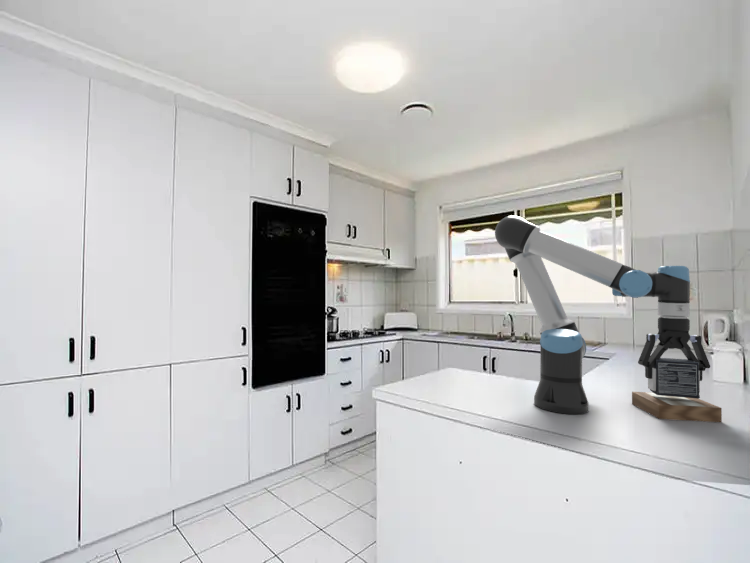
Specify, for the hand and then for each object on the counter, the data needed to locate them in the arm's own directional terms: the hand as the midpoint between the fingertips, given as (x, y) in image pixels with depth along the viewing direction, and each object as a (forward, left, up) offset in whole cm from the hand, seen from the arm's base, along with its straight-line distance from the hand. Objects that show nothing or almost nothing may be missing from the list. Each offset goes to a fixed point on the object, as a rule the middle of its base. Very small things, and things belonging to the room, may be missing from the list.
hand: (673, 390), depth 113 cm
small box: (0, 0, -1) cm, 1 cm away
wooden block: (0, 0, -7) cm, 7 cm away
